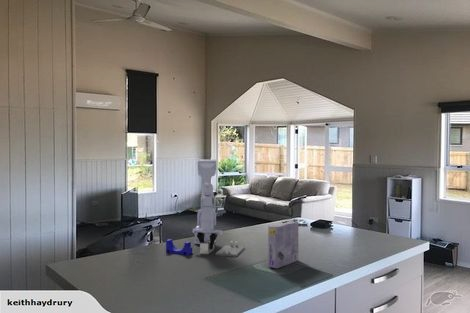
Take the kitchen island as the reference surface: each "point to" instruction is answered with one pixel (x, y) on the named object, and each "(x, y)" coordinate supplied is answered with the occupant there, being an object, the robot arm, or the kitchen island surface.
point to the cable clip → (172, 249)
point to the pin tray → (230, 250)
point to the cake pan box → (282, 244)
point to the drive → (205, 247)
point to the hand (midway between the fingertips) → (207, 248)
